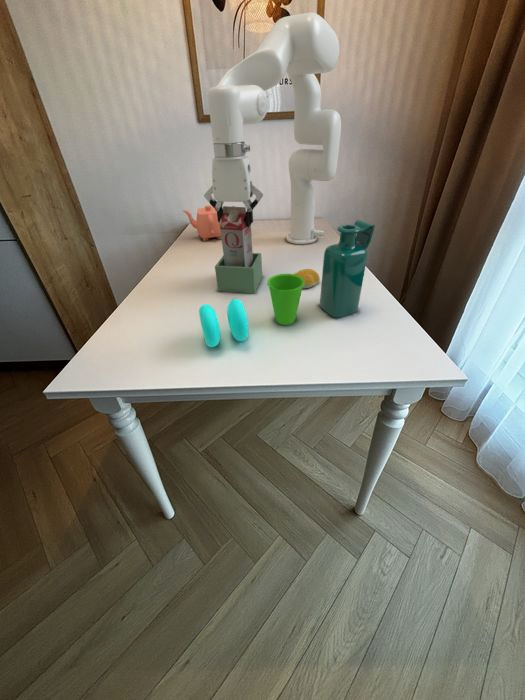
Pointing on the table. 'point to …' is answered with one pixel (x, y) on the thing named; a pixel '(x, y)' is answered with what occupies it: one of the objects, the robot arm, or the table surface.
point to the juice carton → (236, 237)
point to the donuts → (235, 320)
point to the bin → (239, 276)
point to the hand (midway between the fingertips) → (235, 224)
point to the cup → (285, 296)
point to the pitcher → (345, 269)
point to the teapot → (206, 222)
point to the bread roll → (308, 277)
